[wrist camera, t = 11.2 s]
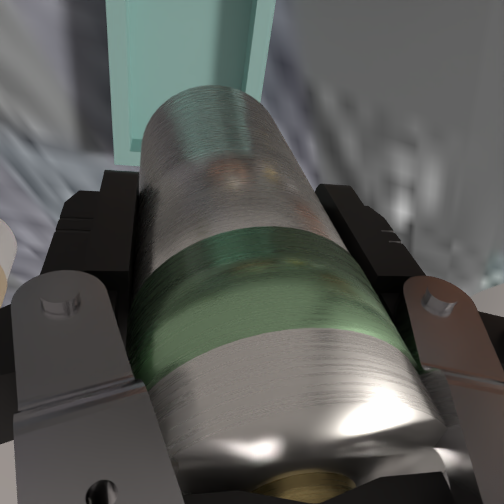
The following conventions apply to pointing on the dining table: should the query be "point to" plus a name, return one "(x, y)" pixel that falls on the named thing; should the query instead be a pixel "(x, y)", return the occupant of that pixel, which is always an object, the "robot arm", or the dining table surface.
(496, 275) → the dining table surface
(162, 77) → the trough
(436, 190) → the dining table surface
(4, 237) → the coffee cup
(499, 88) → the dining table surface
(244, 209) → the cell green
